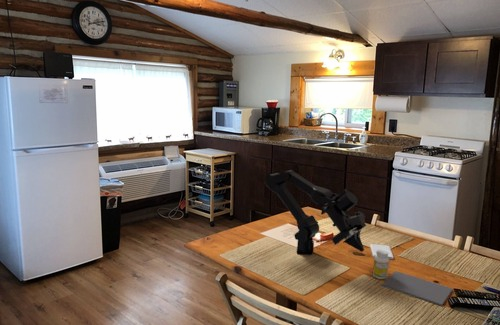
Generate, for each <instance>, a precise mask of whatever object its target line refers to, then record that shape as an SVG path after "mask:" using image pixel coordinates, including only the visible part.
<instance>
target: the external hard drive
mask: <svg viewBox="0 0 500 325" xmlns="http://www.w3.org/2000/svg"><path fill="white" fill-rule="evenodd" d="M369 247H370V251H371V255H372V258H374V257H375V256H376V255H377V254H376V253H377V250H384V251H387V252H388V258H389V260H394V259H395V258H394V255H393V251H392V249H391V247H390V245H385V244H375V243H373V244H372V243H371V244H369Z"/></svg>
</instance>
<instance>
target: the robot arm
mask: <svg viewBox="0 0 500 325" xmlns="http://www.w3.org/2000/svg"><path fill="white" fill-rule="evenodd" d="M264 180H265V181H264V184H265V186H266V187H267V188H268V189H269V190H270V191H272V192H273V193H274V194H277V196H278V197H279V199H280V200H281V201H282V203H283V204H284V206H285V207H286V208H287V210H288V211H289V213H290V214H291V215H292V216H293V218H294V219H295V221H296V226H297V229H298V231H297V232H296V233H294V234H293V236H294V239H295V240H296V241H297V246H296V254H297V255H309V256H312V255H313V252H314V249H315V248H314V246H315V245H314V244H315V242H314V239H313V238H315V237H316V235H317V234H318V233H319V231H320V225H319V224H318V223H319V222H318V221H317V220H316V218H315V216H314V215H313V214H311V215H308V214H306V213H305V211H304V210H303V208H302V207H301V205H300V204H299V203H298V201H297V200H296V198H294V196H293V195H292V193H291V192H290V191H289V189H288V188H287V182H288V183H290V184H291V185H292V186H295V187H296V188H298V189H299V190H301V191H302V192H304V193H306V194H307V195H308V196H309V198H310V199H311V200H312V202H314V203H315V204H316V205H318V206H320V207H321V213H320V215H325V214H327V216H328V218H329V219H330V221H332V222H333V224H332V226H333V227H336V228H337V230H338V231H339V232H338V233H337V234H336V235H334V236H332V239H331V240H332V243H333V244H334V245H338V244H340V242H343V243H344V244H347V245H349V246H350V247H352V248H354V249H356V250H357V251H360V252H361V253H363V252H364V251H365V247H364V246H363V243H362V240H361V232H362V229H363V228H365V227H366V226H367V224H366V220H365V218H366V215H364V214H365V213H362V211H357V212H355V215H352V216H351V215H350V214H346V213H345V212H347V211H349V210H350V209H352V208H353V207H355V205H357V203H358V201H359V200H358V198H357V195H355V194H354V193H352V192H351V191H349V190H348V189H346V188H345V189H343V190H342V191H341V193H339V194H336V193H333V192H332V191H331V190H330V189H328V188H325V187H321V186H318V185H315V184H314V183H312V182H311V181H309V180H307V179H305V178H304V177H303V176H301V175H300V174H298V173H296V172H295V171H294V170H292V169H290V170H286V171H284V172H281V173H280V172H276V173H270V174H268V175H267V176H265V178H264ZM326 205H327V206H326Z"/></svg>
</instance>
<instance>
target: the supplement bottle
mask: <svg viewBox="0 0 500 325" xmlns="http://www.w3.org/2000/svg"><path fill="white" fill-rule="evenodd" d="M376 254H377V255H376V256H375V257H373V268H372V269H373V270H372V276H373V277H374V278H376V279H379V280H386V279H388V278H389V277H388V276H389V266H390V259H389V258H388V252H387V251H384V250H377V253H376Z"/></svg>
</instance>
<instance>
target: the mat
mask: <svg viewBox="0 0 500 325" xmlns="http://www.w3.org/2000/svg"><path fill="white" fill-rule="evenodd" d="M380 284H381V287H385V288H386V289H390V290H394V291H396V292H399V293H402V294H405V295H408V296H411V297H414V298H417V299H419V300H423V301H426V302H429V303H431V304H435V305H438V306H440V307H442V306H443V305H444V303H445V302H446V300H448V297H450V295H451V294H452V292H453V288H452V287H449V286H446V285H443V284H440V283H436V282H433V281H430V280H426V279H423V278H420V277H416V276H414V275H410V274H407V273H403V272H400V271H397V270H395V271H394V272H393V273H392V274H390V275H389V277H387V278H386V279H384V281H383V282H382V283H380Z"/></svg>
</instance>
